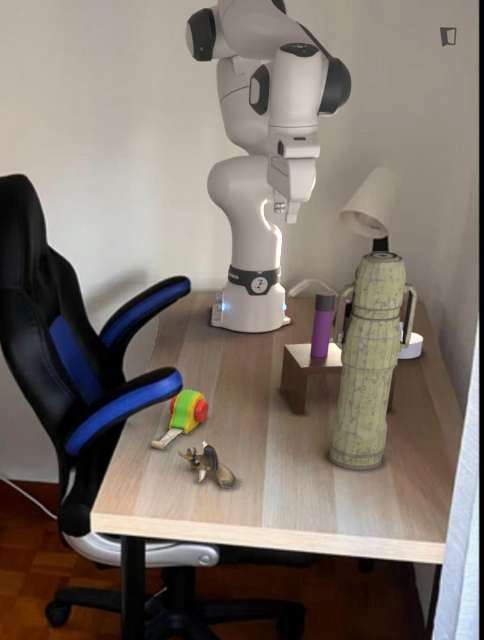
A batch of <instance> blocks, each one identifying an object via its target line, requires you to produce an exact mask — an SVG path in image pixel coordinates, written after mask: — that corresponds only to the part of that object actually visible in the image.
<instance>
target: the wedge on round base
mask: <svg viewBox="0 0 484 640" xmlns="http://www.w3.org/2000/svg"><path fill="white" fill-rule="evenodd" d="M399 323H400V328H401V341H402V342H403V340H402V337H403V329H404V321H399ZM423 341H424V337H423V336H422V335H420V334H418V333H416V332H412V333H411V338H410V342H409V346H408V348H404V349H401V352H399V353H398V359H399V360H400V359H401V360H405V359H406V360H407V359H414V358H417V357H420V356H421V353H422V347H423Z"/></svg>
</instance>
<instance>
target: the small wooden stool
mask: <svg viewBox="0 0 484 640" xmlns="http://www.w3.org/2000/svg"><path fill="white" fill-rule="evenodd" d="M341 351H342V350H340V349H339V348H338V347H337V346H336V344H335V343H334V342H331V343H329V347H328V355H327V356H326V357H313V356H311V355H310V352H311V344H302V343H301V344H300V343H298V344H297V343H295V344H294V343H293V344H284V345H283V355H282V365H281V366H282V367H281V375H280V387H279V390H280V392H281V393H282V395H283V397H284V398H285V400H286V402H287V403H288V404H289V406H290V407H291V409H292V411H293V412H294V413H295V415H304V414H305V408H306V398H307V390H308V382H309V380H308V379H309V375H336V374H337V375H338V374H340V375H341V374H342V367H343V366H342V363H341ZM398 368H399V364H398V363H397V364H396V366H395V367H394V369H393V372H392V379H391V385H390V392H389V398H388V405H387V411H386V413H389V412H392V407H393V400H394V395H395V388H396V381H397V377H398V376H397V375H398Z"/></svg>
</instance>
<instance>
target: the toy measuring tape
mask: <svg viewBox="0 0 484 640" xmlns="http://www.w3.org/2000/svg"><path fill="white" fill-rule="evenodd" d="M169 413H170V415H171V419H170V421H169V425H168V431H167V432H166V434H165V435H164V436H163V437H161V439H160V440H154V439H153V440H151V443H150V447H152V448H154V449H158V450H164V447H166V446H167V445H168V444H169V443H170V442H171V441H173V440H174V439H175V438H176V437H177V436H178V435H180V434H185V435H186V434H188V433H190V432H191V431H192V430H194V429H195V428H196V427H197V426H198V425H199V424H200V423H203V422H204V421H205V420H206V419H207V417H208V414H209V403H208V402H207V400H206V398H205V396H204V394H203V393H201V392H200V391H197V390H192V389H184V390H181V391H180V392H179V393H177V394H176V395H175V396H174V397H173V398H172V399H171V401H170V403H169Z"/></svg>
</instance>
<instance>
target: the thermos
mask: <svg viewBox="0 0 484 640" xmlns="http://www.w3.org/2000/svg"><path fill="white" fill-rule="evenodd" d="M406 279H407V273H406V267H405V262H404V257H403V256H401V255H399V254H398V253H396V252H391V251H386V250H385V251H383V250H379V251H378V250H377V251H370V252H368V253H367V254H364V255H362V257H361V259H360V260H359V263H358V264H357V267H356V270H355V273H354V280H353V281H352V283H348V284H345V285H343V287H342V289H341V290H340V291H339V292H338V297H337V305H336V313H335V321H334V329H333V337H332V338H333V342H332V343H335V344H336V346H337V347H338V348H339V349H340V350H342V351H341V363H342V366H343V367H342V374H340V375H341V376H340V383H339V391H338V400H337V407H336V413H335V414H334V416H333V418H332V421H331V428H330V434H329V447H330V448H329V449H330V450H329V451H328V459H329V461H330V462H331V463H333V464H335V465H336V466H338V467H341V468H344V469H349V470H358V471H361V470H362V471H364V470H365V471H366V470H371V469H376V468H377V467H379V466H380V465H381V464H382V459H383V457H382V456H383V451H384V450H385V446H386V440H387V434H388V423H387V420H386V417H387V412H386V411H387V405H388V398H389V392H390V385H391V379H392V372H393V369H394V367H395V366H396V364H398V359H399V358H398V353H399V352H401V349H404V348H408V346H409V342H410V338H411V333H413V326H414V320H415V313H416V307H417V302H418V295H419V294H418V292H417V290H416V289H415V287H414V285H413V284H411V282H410V283H407V282H406V281H407V280H406ZM351 292H352V296H351V305H352V307H351V310H350V311H349V318H348V320H347V322H346V323H345V325H344V322H345V315H346V305H347V297H348V295H349V294H350V293H351ZM406 293H408V298H407V305H406V311H405V316H404V322H403V329H402V331H403V337H402V340H403V342H402V341H401V328H400V323H399V322H400V319H401V313H400V310H401V307H402V305H403V299H404V294H406Z"/></svg>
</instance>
